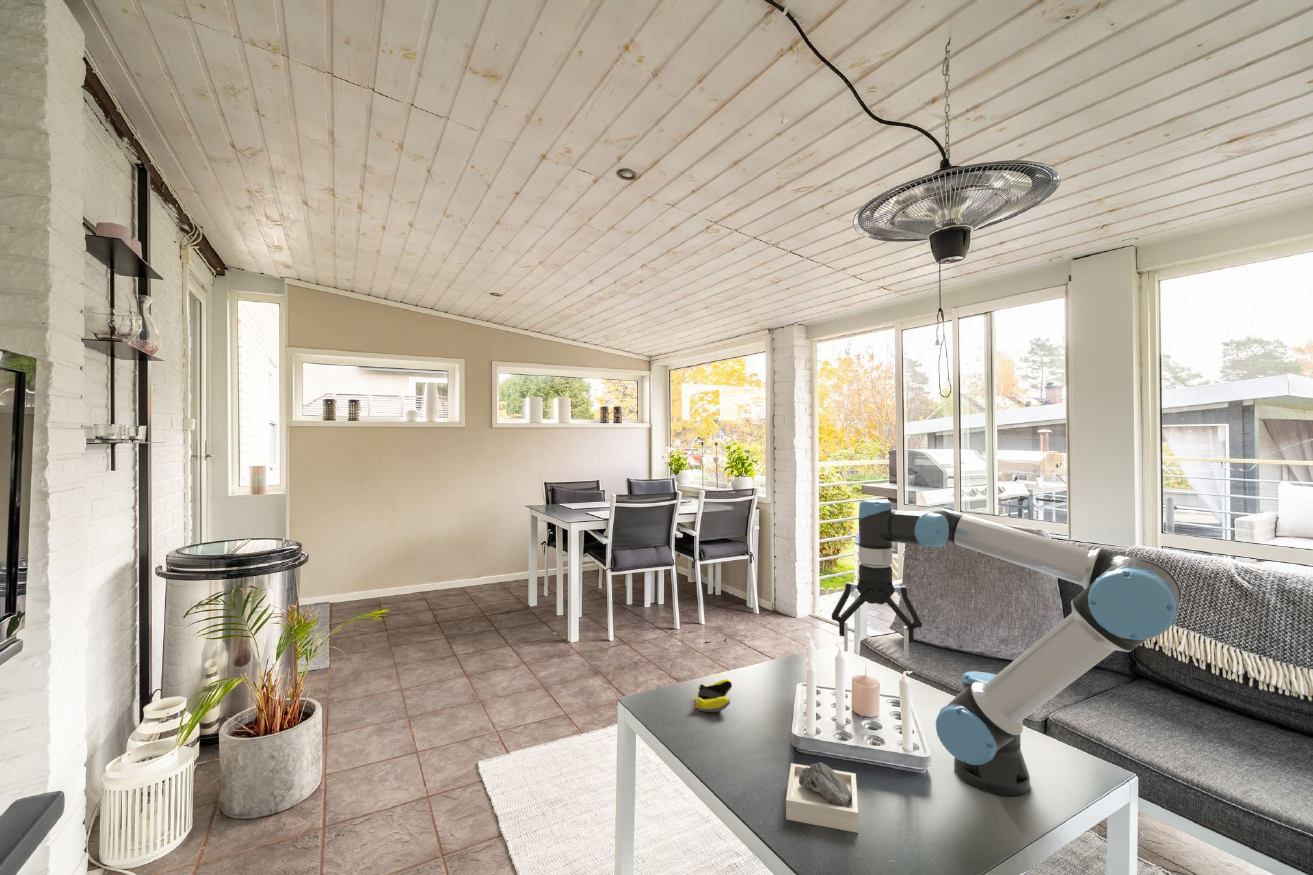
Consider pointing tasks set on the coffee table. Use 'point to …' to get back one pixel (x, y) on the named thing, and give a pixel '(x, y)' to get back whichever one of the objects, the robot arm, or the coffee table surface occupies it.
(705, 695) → the yellow black shoe
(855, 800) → the small open wooden box
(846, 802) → the grey rock
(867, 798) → the coffee table surface
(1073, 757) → the coffee table surface
